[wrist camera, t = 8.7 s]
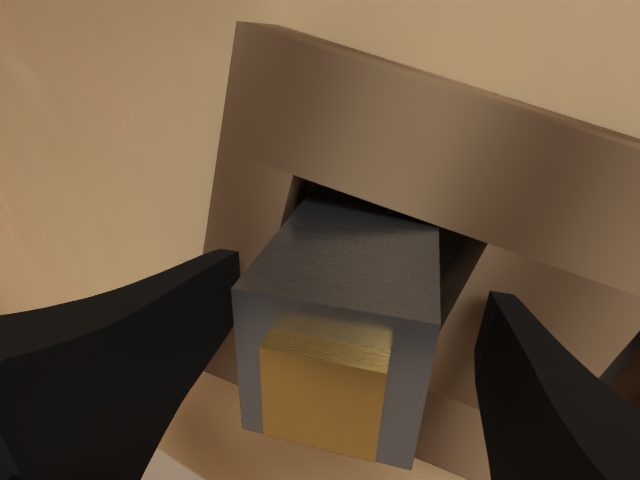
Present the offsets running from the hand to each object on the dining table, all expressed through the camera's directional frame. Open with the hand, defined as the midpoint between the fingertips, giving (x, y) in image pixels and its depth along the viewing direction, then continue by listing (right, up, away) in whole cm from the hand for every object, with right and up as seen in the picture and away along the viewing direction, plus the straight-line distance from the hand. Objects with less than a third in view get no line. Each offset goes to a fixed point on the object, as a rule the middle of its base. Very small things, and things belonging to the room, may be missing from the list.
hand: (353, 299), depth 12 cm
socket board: (+4, 0, +3) cm, 5 cm away
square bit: (+1, +2, +3) cm, 3 cm away
